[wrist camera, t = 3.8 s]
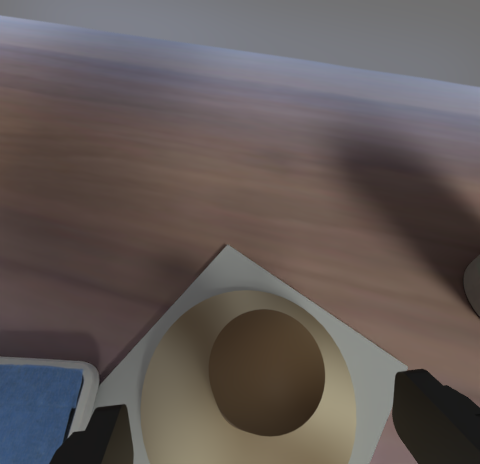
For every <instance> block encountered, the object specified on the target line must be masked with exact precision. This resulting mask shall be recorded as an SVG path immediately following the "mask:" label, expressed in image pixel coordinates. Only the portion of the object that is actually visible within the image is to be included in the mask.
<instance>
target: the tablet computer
mask: <svg viewBox="0 0 480 464" xmlns="http://www.w3.org/2000/svg"><path fill="white" fill-rule="evenodd" d="M98 388H99V373H98V370H97V368H96V367H95V366H93V365H92V364H90V363H87V362H83V361H70V360H55V359H38V358H20V357H2V356H0V464H49V463H50V461H51V459H52V457H53V455H54V453H55V451H56V450H57V449H58V448H59V447H60V446H61V445H62V444H63V443H64V442H65V441H66V440H67V438H68V437H69V436H70V435H71V434H72V433H73V432H77V431H85V429H86V427H87V425H88V423H89V421H90V418H91V416H92V412H93V408H94V404H95V400H96V396H97V392H98Z"/></svg>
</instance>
